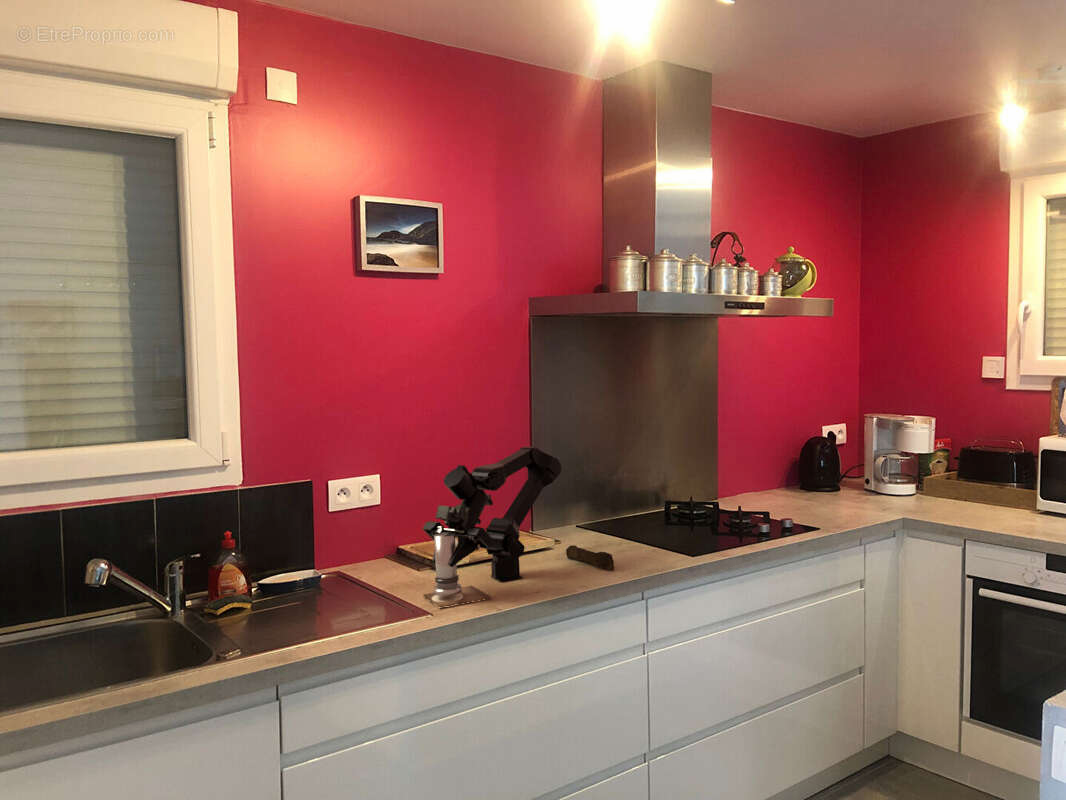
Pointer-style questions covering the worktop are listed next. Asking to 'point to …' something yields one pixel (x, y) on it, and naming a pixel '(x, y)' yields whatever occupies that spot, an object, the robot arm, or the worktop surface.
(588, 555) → the hand tool
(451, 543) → the silver flared cylinder
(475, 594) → the walnut board
